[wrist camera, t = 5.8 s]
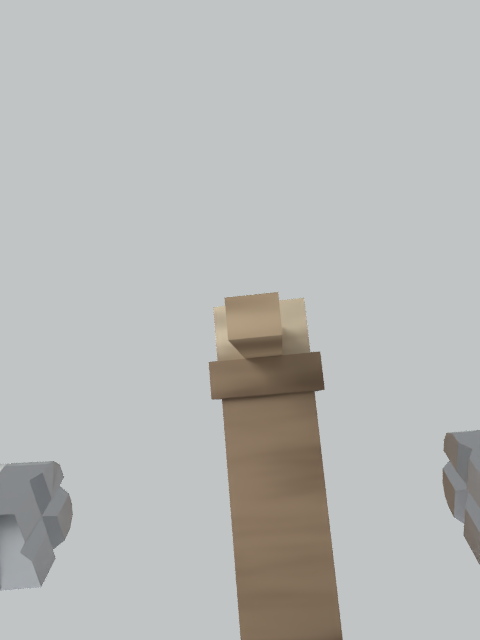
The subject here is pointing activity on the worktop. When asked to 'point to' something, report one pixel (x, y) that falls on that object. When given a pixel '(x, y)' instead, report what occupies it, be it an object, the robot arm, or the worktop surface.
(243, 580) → the walnut stand
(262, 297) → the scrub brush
